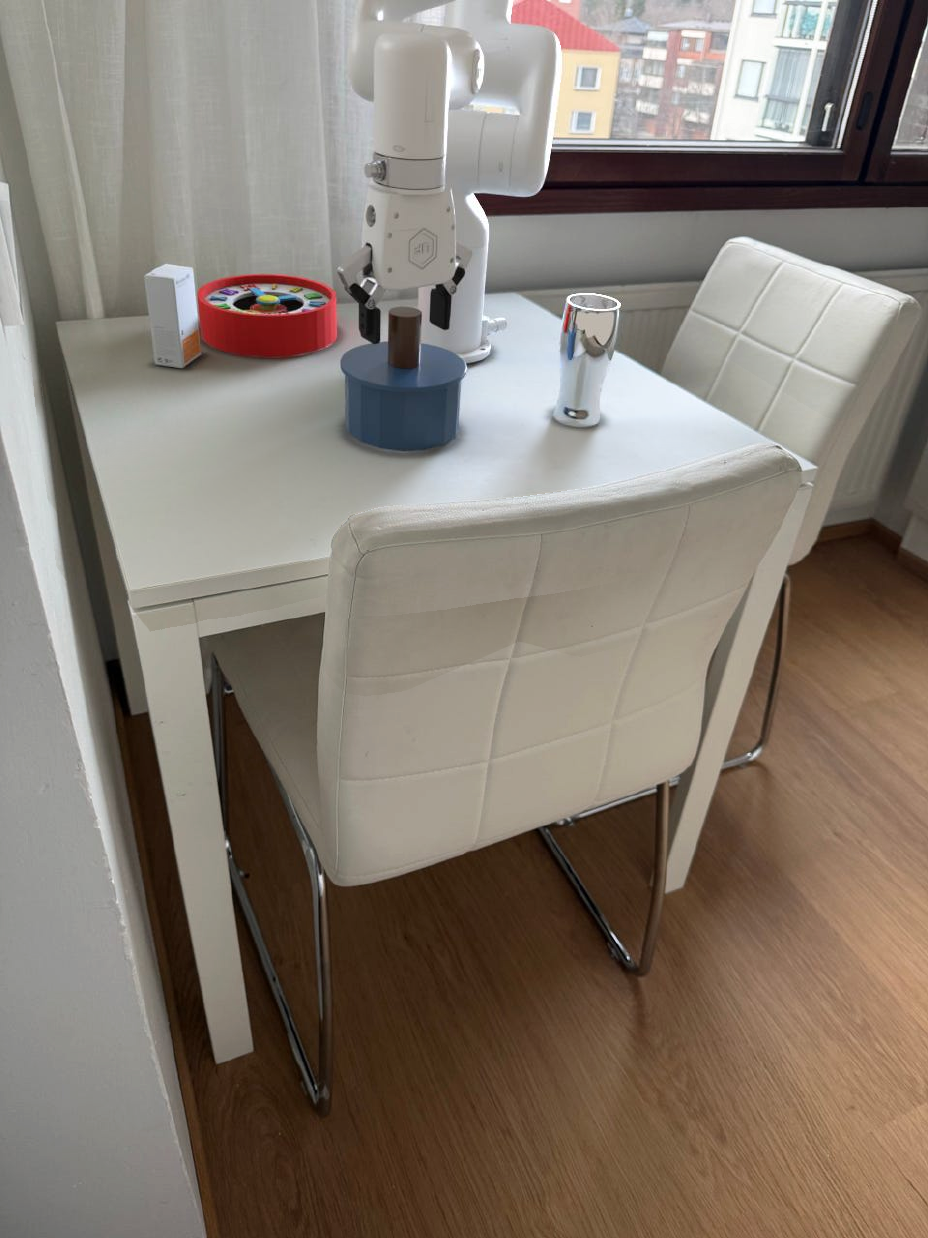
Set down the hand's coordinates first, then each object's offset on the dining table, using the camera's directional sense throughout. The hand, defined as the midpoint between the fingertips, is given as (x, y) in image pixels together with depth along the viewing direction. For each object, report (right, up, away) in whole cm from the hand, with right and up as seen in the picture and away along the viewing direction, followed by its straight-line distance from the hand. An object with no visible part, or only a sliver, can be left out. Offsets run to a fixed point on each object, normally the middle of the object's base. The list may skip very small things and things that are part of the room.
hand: (405, 333), depth 106 cm
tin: (-1, -10, +7) cm, 12 cm away
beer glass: (+21, -7, +13) cm, 26 cm away
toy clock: (-22, +10, +31) cm, 40 cm away
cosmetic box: (-33, +3, +20) cm, 39 cm away
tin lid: (0, -4, +2) cm, 4 cm away
